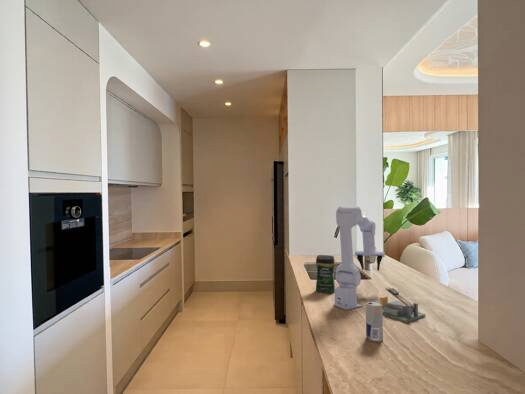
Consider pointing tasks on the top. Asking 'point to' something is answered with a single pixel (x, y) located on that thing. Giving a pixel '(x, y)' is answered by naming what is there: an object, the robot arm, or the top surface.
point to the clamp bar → (399, 297)
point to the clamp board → (408, 316)
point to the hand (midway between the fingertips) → (370, 269)
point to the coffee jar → (325, 274)
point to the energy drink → (374, 321)
